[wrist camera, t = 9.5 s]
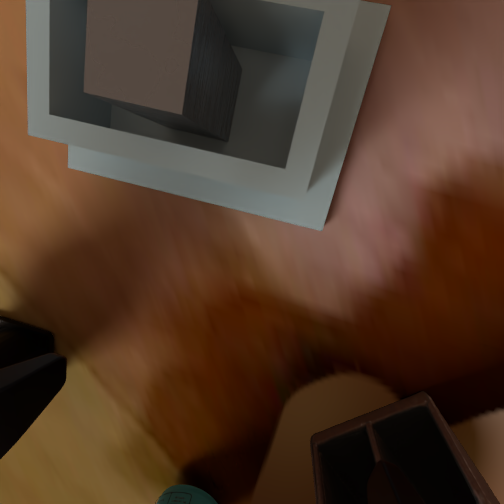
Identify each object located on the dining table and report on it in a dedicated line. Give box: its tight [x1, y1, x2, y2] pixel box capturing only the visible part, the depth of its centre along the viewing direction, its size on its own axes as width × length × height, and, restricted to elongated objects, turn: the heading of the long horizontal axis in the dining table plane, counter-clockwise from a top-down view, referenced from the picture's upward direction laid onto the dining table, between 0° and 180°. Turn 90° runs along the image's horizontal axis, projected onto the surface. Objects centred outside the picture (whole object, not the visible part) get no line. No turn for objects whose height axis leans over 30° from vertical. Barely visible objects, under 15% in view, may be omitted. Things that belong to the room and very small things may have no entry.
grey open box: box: [26, 0, 391, 231], centre depth 14 cm, size 18×12×6 cm, turn 77°
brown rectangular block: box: [84, 0, 242, 142], centre depth 13 cm, size 4×4×7 cm
